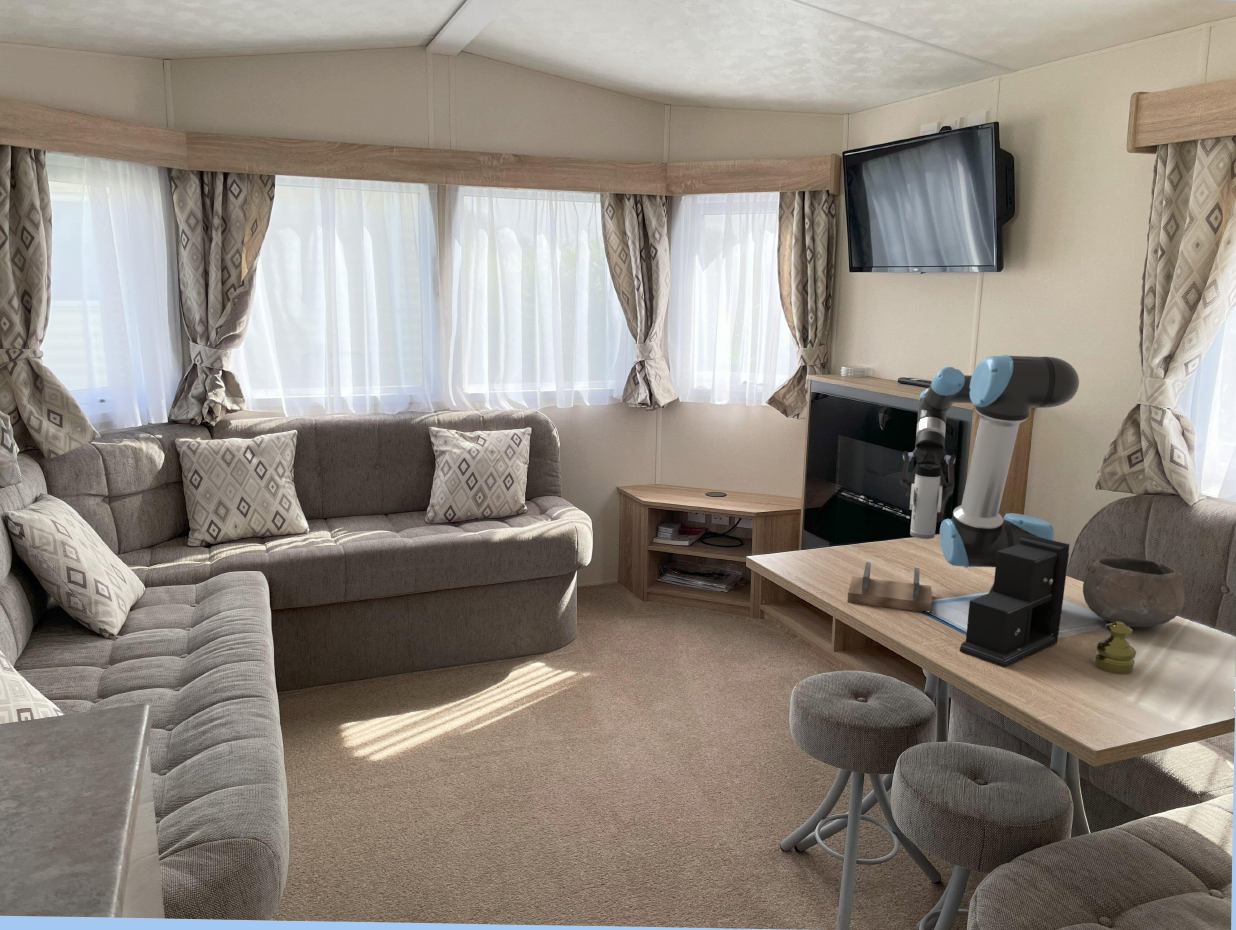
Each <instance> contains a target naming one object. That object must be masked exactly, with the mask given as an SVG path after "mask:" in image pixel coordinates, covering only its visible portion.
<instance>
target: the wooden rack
mask: <svg viewBox="0 0 1236 930" xmlns="http://www.w3.org/2000/svg"><path fill="white" fill-rule="evenodd" d="M871 567H872V562H869V561H866V562H865V566H864V571H863V576H862V577H861V576H854V575H853V576H851V579H850V583H849V587H848V591H847V601H851V602H850V603H852V602H857V603H856V604H860V603H864V604H863V605H867V604H868V605H869V606H875V607H877V606H878V607H885V608H891V609H899V610H906V611H907V610H908V611H914V612H915V611H916V612H923V611H931V612H932V602H933V601H932V600H933V598H932V597H933V595H932V586H931V585H927V584H921V583H920V570H921V569H920V568H919V567H914V571H913V573H914V574H913V582H912V583H911V582H903V581H894V580H888V579H886V580H885V579H878V578H870V576H871Z"/></svg>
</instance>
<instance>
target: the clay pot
mask: <svg viewBox="0 0 1236 930" xmlns="http://www.w3.org/2000/svg"><path fill="white" fill-rule="evenodd" d="M1185 579H1186V577H1185V576H1184V575H1183V574H1182V572H1179V571H1178V570H1176V569H1175V568H1172V567H1171V566H1169V565H1167V564H1165V563H1163V562H1160V563H1157V562H1156V561H1154V560H1150V559H1149V560H1148V559H1143V558H1136V557H1127V556H1126V557H1121V556H1119V557H1118V556H1117V557H1116V556H1115V557H1113V556H1112V557H1100V558H1098V559H1097V560H1095V561H1094V562H1093V563H1090V564H1089V566H1088V567H1087V572H1086V575H1085V577H1084V580H1083V584H1082V593H1083V599H1084V601H1085V603H1086V605H1087V606H1088V608H1089V609H1090V610H1091V612H1093V614H1095V615H1096V616H1097V617H1099V618H1101V619H1102V620H1104V621H1107V622H1109V623H1113V622H1122V623H1124V624H1125V625H1127V626H1129V627H1130V628H1132V627H1133V628H1152V627H1157V626H1160V625H1164V624H1166V623H1168V622H1170V621H1172V620H1174V619H1175V618H1176V617H1177V616H1178V615H1179V614H1180V612H1181V611H1182V609H1183V608H1184V604H1185V597H1186V596H1185V587H1184V580H1185Z"/></svg>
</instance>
